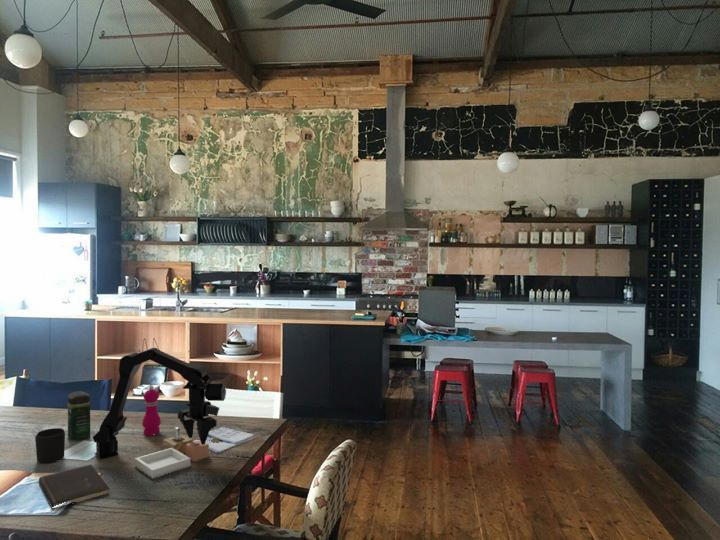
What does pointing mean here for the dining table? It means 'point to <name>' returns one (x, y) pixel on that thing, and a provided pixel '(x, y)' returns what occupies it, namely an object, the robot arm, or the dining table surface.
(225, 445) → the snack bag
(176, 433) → the cylinder
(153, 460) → the tray
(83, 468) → the hardcover book
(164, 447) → the oak block
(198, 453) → the rust block
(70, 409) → the coffee jar
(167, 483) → the dining table surface
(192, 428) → the robot arm
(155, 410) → the pepper mill
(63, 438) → the pen holder
